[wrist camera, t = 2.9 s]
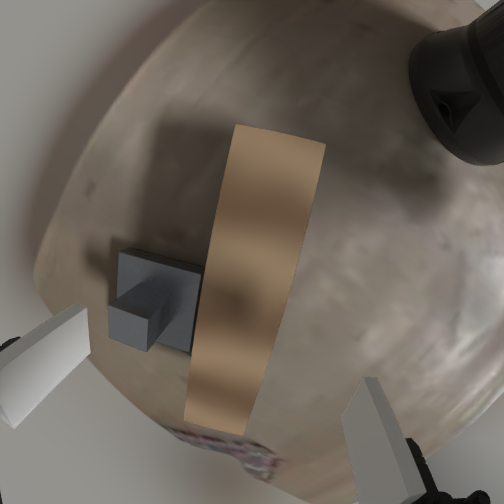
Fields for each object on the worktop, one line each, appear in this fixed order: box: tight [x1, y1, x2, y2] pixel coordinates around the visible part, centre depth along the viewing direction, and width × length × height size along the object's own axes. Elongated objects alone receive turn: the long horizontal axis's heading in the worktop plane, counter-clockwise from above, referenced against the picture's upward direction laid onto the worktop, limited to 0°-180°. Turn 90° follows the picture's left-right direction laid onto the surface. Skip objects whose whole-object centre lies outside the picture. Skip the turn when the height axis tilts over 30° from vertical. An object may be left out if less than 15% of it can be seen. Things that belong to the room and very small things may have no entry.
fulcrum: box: [108, 248, 205, 352], centre depth 22 cm, size 8×8×7 cm
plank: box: [184, 124, 326, 436], centre depth 18 cm, size 22×5×4 cm, turn 168°
